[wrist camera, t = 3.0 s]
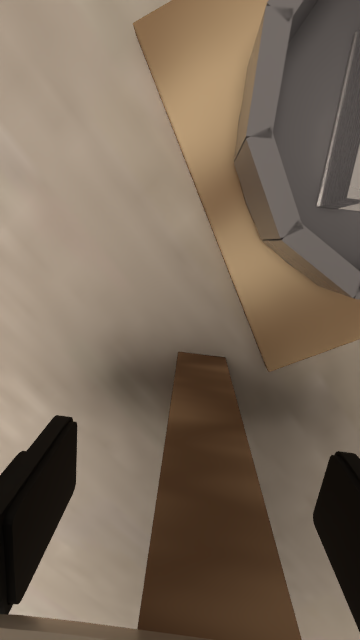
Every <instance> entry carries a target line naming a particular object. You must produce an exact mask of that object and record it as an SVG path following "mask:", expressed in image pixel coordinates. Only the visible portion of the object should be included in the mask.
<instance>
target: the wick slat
mask: <svg viewBox="0 0 360 640" xmlns="http://www.w3.org/2000/svg"><path fill="white" fill-rule="evenodd" d="M138 630H146V631H153V632H161V633H168V634H176V635H183V636H190V637H197V638H204V639H212V640H301V636H300V632H299V629H298V625H297V621H296V617H295V614H294V610H293V606H292V603H291V599H290V595H289V592H288V588H287V584H286V580H285V577H284V573H283V569H282V566H281V562H280V558H279V555H278V551H277V547H276V543H275V540H274V536H273V532H272V529H271V525H270V521H269V518H268V514H267V510H266V507H265V503H264V499H263V495H262V492H261V488H260V484H259V481H258V477H257V473H256V470H255V466H254V462H253V458H252V455H251V451H250V447H249V444H248V440H247V436H246V433H245V429H244V425H243V421H242V418H241V414H240V410H239V407H238V403H237V399H236V396H235V392H234V388H233V385H232V381H231V377H230V373H229V370H228V366H227V362H226V359H225V357H217V356H209V355H201V354H192V353H184V352H178V357H177V364H176V371H175V378H174V384H173V391H172V398H171V405H170V411H169V418H168V425H167V432H166V439H165V445H164V452H163V459H162V466H161V473H160V479H159V486H158V493H157V500H156V506H155V513H154V520H153V527H152V534H151V540H150V547H149V554H148V561H147V567H146V574H145V581H144V588H143V595H142V601H141V608H140V615H139V622H138Z"/></svg>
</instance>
